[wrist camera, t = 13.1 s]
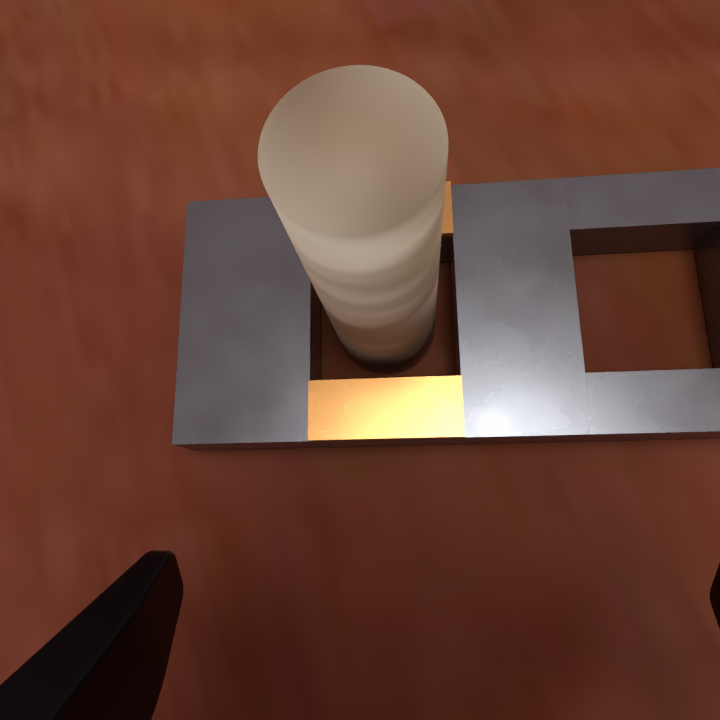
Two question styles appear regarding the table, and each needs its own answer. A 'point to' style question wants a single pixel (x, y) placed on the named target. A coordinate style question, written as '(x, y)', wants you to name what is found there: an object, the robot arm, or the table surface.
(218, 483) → the table surface
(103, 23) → the table surface
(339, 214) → the birch peg
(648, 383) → the grey peg hole board
